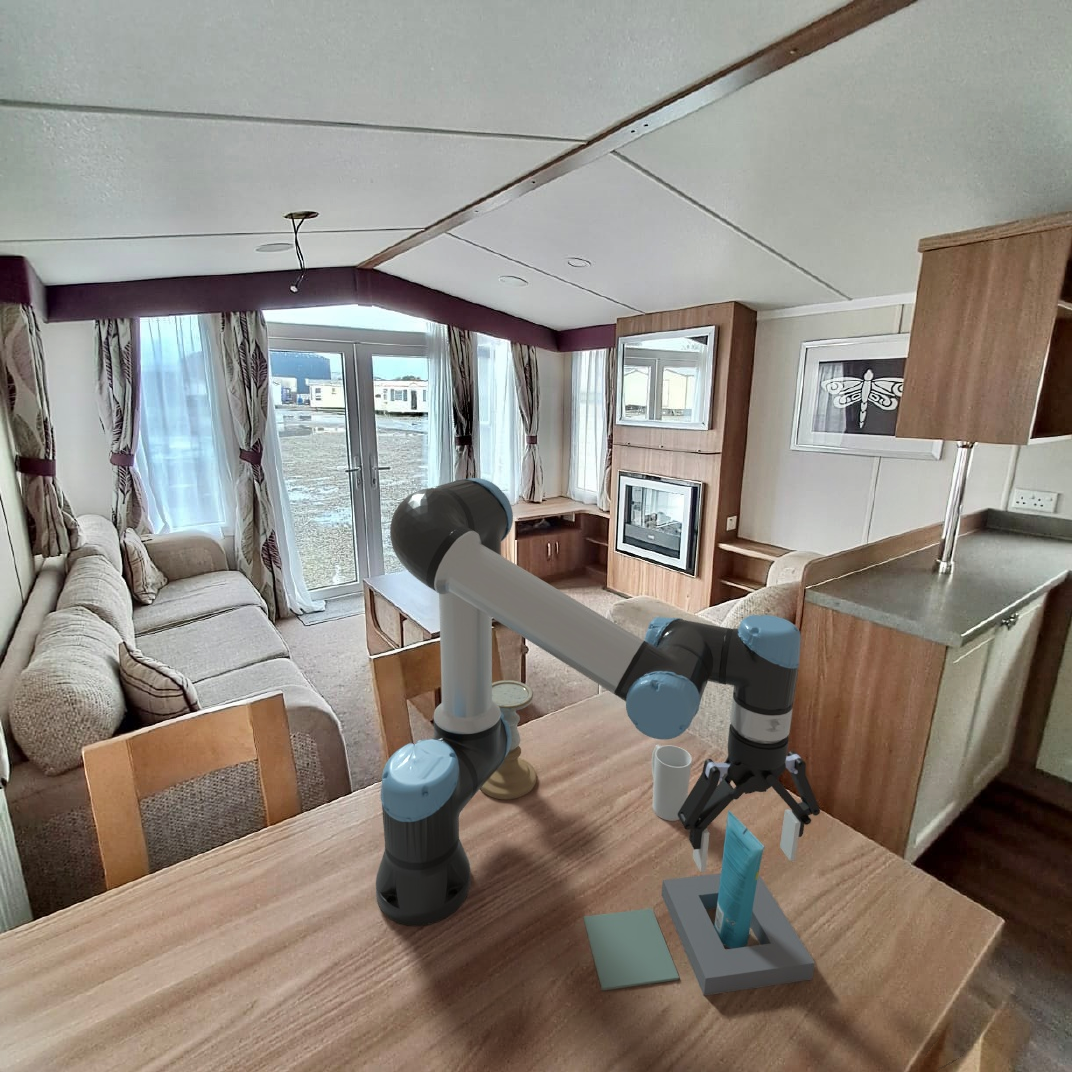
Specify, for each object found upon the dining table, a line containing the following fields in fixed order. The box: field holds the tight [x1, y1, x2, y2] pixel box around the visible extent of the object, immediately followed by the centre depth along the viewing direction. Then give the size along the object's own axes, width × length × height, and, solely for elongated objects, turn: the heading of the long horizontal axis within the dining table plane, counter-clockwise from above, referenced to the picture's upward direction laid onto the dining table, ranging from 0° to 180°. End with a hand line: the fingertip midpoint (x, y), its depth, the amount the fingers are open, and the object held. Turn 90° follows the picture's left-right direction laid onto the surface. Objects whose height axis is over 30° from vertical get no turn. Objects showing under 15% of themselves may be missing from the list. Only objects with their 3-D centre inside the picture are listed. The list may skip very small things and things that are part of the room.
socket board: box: [661, 872, 816, 996], centre depth 87 cm, size 16×16×3 cm
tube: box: [713, 809, 765, 949], centre depth 85 cm, size 7×5×19 cm, turn 26°
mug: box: [651, 743, 693, 822], centre depth 112 cm, size 10×7×12 cm, turn 20°
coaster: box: [583, 908, 680, 991], centre depth 85 cm, size 11×11×1 cm
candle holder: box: [479, 679, 537, 800], centre depth 117 cm, size 12×12×20 cm
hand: (743, 859), depth 83 cm, fingers open, 13 cm apart
